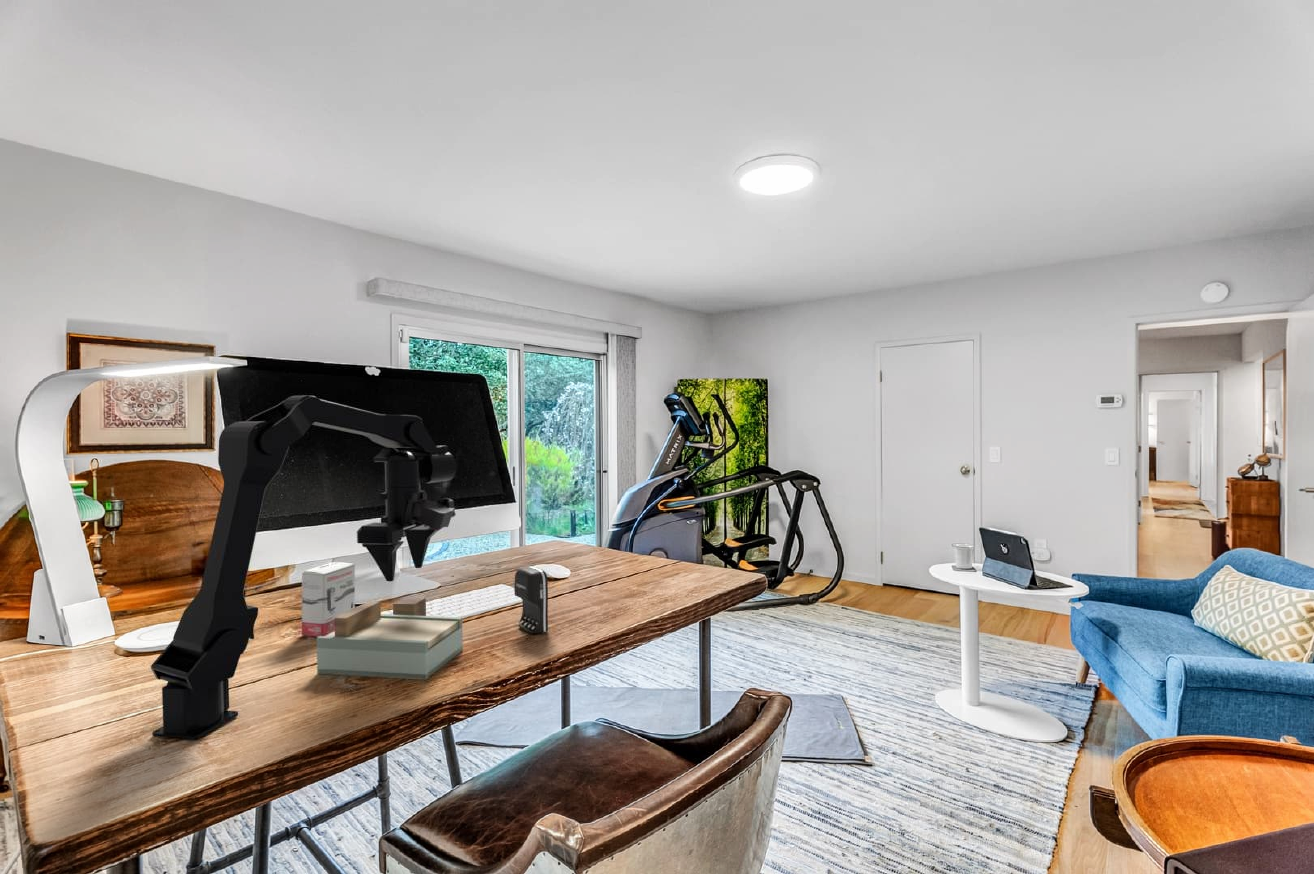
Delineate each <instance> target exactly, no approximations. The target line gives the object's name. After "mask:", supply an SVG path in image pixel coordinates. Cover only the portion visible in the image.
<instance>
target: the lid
mask: <svg viewBox="0 0 1314 874" xmlns="http://www.w3.org/2000/svg"><path fill="white" fill-rule="evenodd" d="M381 611H382V610H381V601H377V600H373V601H372V600H369V601H367V602H365V603H362V604H361V605H359V606H355V608H354V609H352V610H350V611H348V612H346V613H343V614H341V615H339V616H337V617H335V618H334V623H335V631H334V632H332V633H330V634H328V635H326V636H331V637H353V638H374V639H396V640H418V641H428V648H430V647H431V646H432V645H434V644H435V643H437V642H438V641H439V640H441V639H442V638H444V637H445V636H446V635H448V634H449V633H451V632H452V631H453V630H455V629H456V628H458V621H440V620H415V619H391V618H381V614H382V613H381Z"/></svg>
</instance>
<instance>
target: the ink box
mask: <svg viewBox="0 0 1314 874" xmlns="http://www.w3.org/2000/svg"><path fill="white" fill-rule="evenodd" d="M355 574H356V564H355V563H351V562H343V561H333V562H332V561H331V562H329V563H325V564H322V565H318V566H315V567H313V568H307V569H305V570H304V571H303V572H302V573H301V575H302V576H301V636H303V637H304V636H306V637H316V638H317V637H319V636H326V635H328V634H330V633H332V632H334V631H335V623H334V618H335V617H337V616H339V615H341V614H343V613H346V612H348V611H350V610H352V609H354V608H356V606H355V602H356V601H355V600H356V599H355V598H356V597H355V596H356V595H355V591H356V589H355V588H356V586H355V582H356V579H355V578H356V577H355V576H356V575H355Z"/></svg>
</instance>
